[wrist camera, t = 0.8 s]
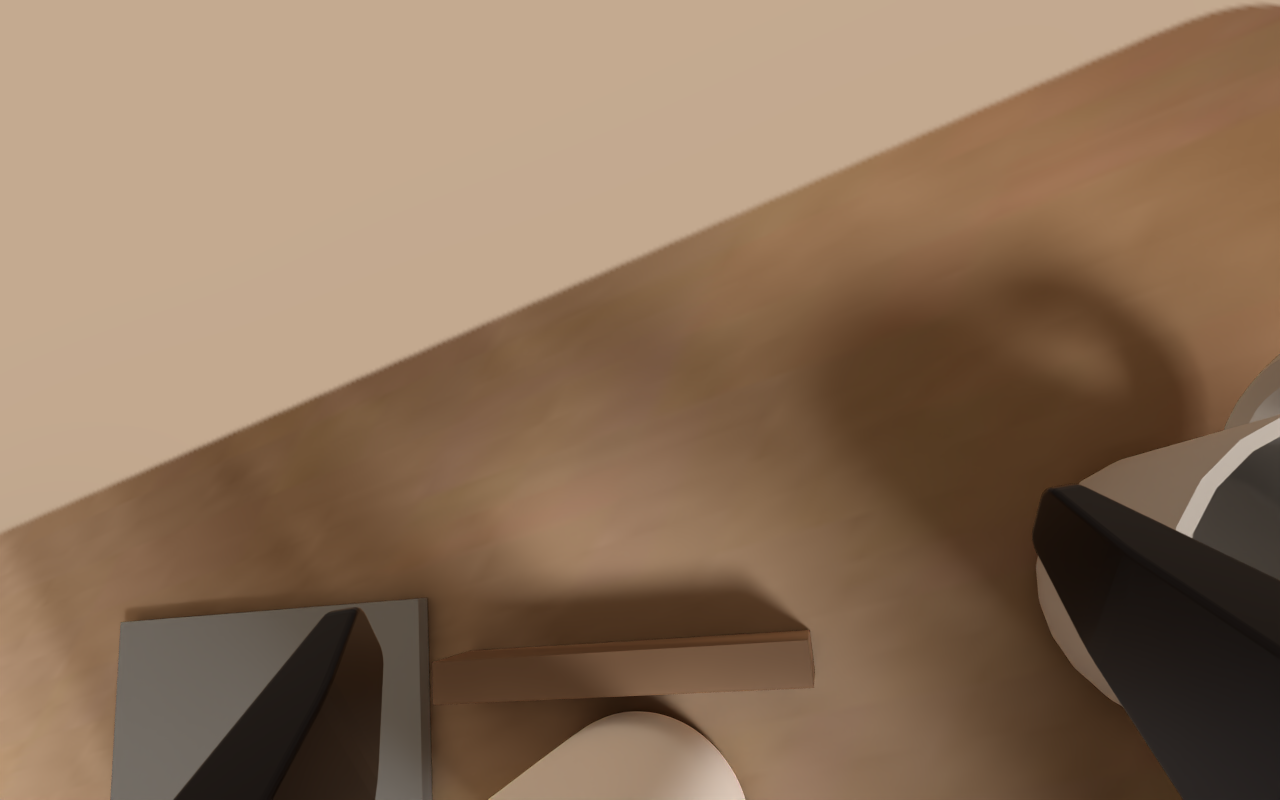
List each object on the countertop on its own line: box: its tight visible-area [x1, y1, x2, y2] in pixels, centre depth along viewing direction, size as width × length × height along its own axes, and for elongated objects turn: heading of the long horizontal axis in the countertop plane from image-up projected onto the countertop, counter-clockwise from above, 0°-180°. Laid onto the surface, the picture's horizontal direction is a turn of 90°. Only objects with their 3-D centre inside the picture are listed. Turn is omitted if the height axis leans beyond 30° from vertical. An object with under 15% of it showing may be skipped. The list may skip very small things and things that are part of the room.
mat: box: [110, 598, 432, 800], centre depth 25 cm, size 12×12×1 cm
